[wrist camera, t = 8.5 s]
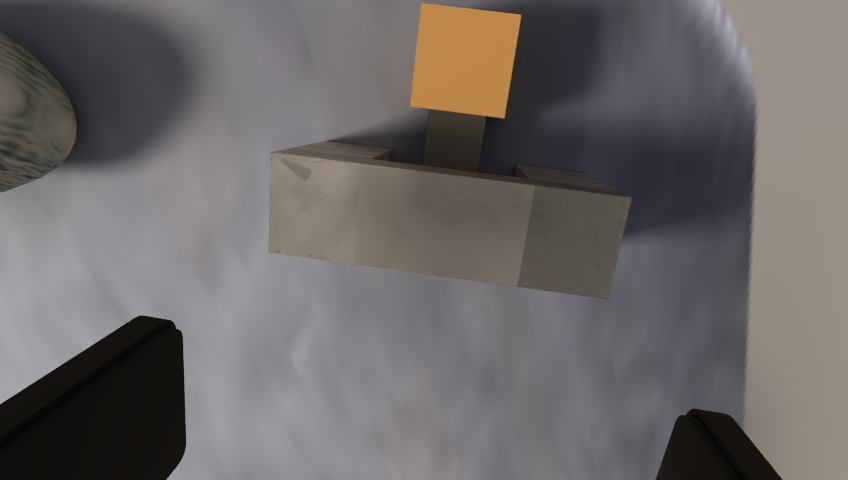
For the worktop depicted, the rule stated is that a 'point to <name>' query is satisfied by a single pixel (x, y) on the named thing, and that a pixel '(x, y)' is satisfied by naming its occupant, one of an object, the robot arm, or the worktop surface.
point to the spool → (31, 118)
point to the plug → (462, 79)
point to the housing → (447, 218)
